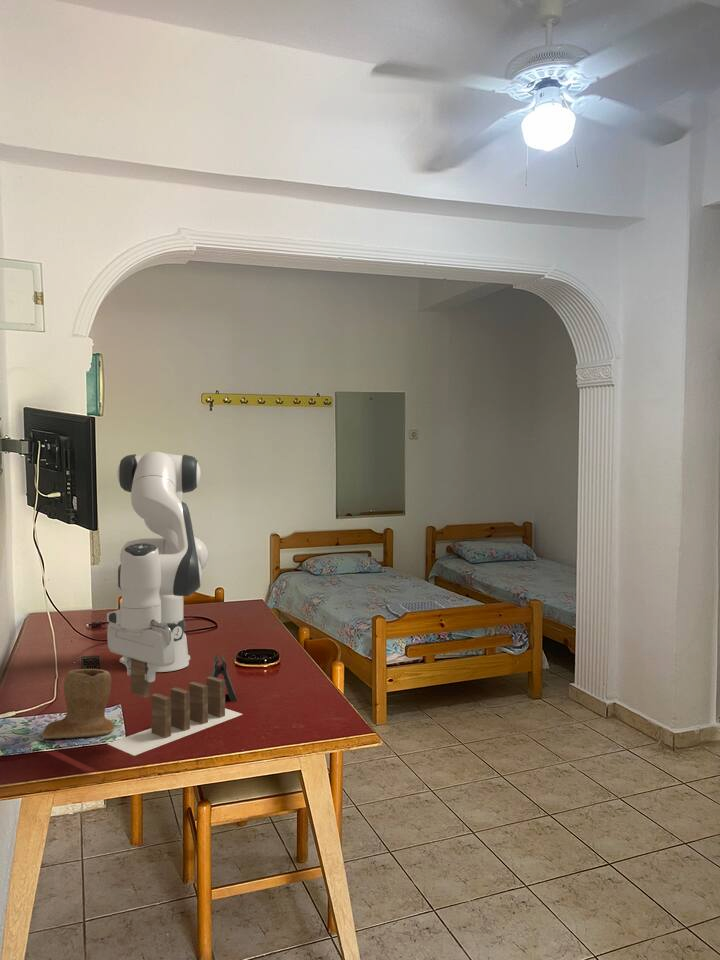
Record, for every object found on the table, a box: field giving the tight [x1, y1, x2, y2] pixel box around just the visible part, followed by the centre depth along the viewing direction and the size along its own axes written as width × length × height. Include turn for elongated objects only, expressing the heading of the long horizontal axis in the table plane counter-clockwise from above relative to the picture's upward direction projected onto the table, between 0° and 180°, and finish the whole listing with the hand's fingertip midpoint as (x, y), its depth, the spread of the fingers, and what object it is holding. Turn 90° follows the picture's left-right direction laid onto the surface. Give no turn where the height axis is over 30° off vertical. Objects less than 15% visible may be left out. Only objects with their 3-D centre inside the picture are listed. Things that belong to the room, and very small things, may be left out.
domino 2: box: [151, 692, 171, 738], centre depth 176 cm, size 2×5×9 cm, turn 52°
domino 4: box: [188, 681, 208, 724], centre depth 184 cm, size 2×5×9 cm, turn 52°
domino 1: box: [130, 658, 152, 698], centre depth 170 cm, size 2×5×9 cm, turn 52°
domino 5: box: [206, 676, 226, 718], centre depth 189 cm, size 2×5×9 cm, turn 52°
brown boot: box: [42, 668, 115, 740], centre depth 178 cm, size 15×12×15 cm
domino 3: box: [170, 687, 190, 731], centre depth 180 cm, size 2×5×9 cm, turn 52°
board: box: [107, 707, 243, 757], centre depth 180 cm, size 10×32×1 cm, turn 142°
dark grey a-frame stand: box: [209, 654, 238, 703], centre depth 200 cm, size 9×6×12 cm, turn 104°
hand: (141, 678), depth 171 cm, fingers closed on domino 1, 5 cm apart
